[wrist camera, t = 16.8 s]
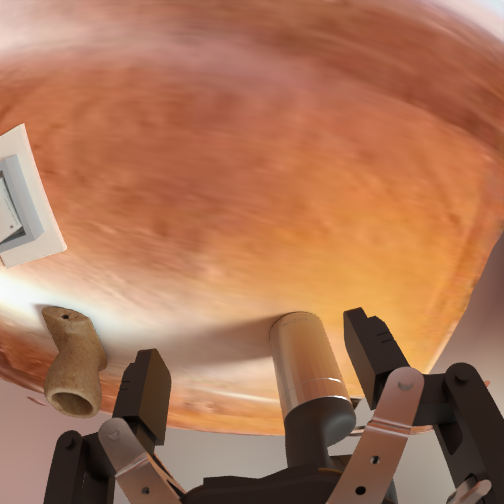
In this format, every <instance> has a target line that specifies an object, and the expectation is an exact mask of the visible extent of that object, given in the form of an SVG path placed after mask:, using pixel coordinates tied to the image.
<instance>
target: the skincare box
mask: <svg viewBox="0 0 504 504" xmlns="http://www.w3.org/2000/svg"><path fill="white" fill-rule="evenodd" d="M21 227H22V223H21V221H20V218H19V216H18V213H17V211H16V208H15V205H14V203H13V200H12V197H11V195H10V192H9V189H8V186H7V183H6V180H5V177H4V176H3V177H1V178H0V243H1V242H2V241H3V240H5V239H6V238H7V237H8V236H10V235H11V234H12V233H14V232H15V231H16V230H18V229H19V228H21Z"/></svg>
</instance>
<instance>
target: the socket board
mask: <svg viewBox="0 0 504 504" xmlns="http://www.w3.org/2000/svg"><path fill="white" fill-rule="evenodd" d="M3 176H4V177H5V180H6V183H7V186H8V189H9V192H10V195H11V197H12V200H13V203H14V205H15V208H16V211H17V213H18V216H19V218H20V221H21V223H22V227H21V228H19V229H18V230H16V231H15V232H14V233H12V234H11V235H10V236H8V237H7V238H6V239H5V240H3V241H2V242H1V243H0V256H1V258H2V260H3V262H4V264H5V266H6V268H10V267H14V266H17V265H20V264H23V263H26V262H29V261H33V260H36V259H39V258H42V257H46V256H49V255H52V254H56V253H59V252H62V251H65V250H66V249H67V246H66V244H65V242H64V239H63V237H62V235H61V232H60V230H59V227H58V225H57V223H56V220H55V218H54V215H53V212H52V210H51V207H50V205H49V202H48V199H47V197H46V194H45V191H44V188H43V185H42V182H41V180H40V177H39V174H38V170H37V167H36V164H35V161H34V158H33V155H32V151H31V148H30V144H29V141H28V137H27V134H26V130H25V126H24V124H20V125H18V126H16V127H15V128H13V129H11V130H10V131H8V132H6V133H5V134H3V135H2V136H0V178H1V177H3Z"/></svg>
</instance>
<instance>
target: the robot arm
mask: <svg viewBox="0 0 504 504" xmlns="http://www.w3.org/2000/svg"><path fill="white" fill-rule="evenodd" d="M343 318H344V340H345V346H346V349H347V352H348V355H349V357H350V359H351V362H352V364H353V367H354V369H355V372H356V374H357V377H358V379H359V382H360V384H361V387H362V389H363V392H364V394H365V397H366V399H367V402H368V405H369V407H370V410H374V409H376V410H375V412H374V415H373V417H372V419H371V421H369V422H368V423H367V425H366V427H365V429H364V432H363V434H362V436H361V438H360V441H359V442H358V445H357V447H356V449H355V451H354V453H353V454H352V455H339V456H329V455H328V450H327V447H329V446H331V445H333V444H336V443H337V442H339V441H341V440H343V439H344V438H345V437H347V436H348V435H349V434H350V433H351V432H352V431H353V429H354V427H355V425H356V415H355V412H354V409H353V406H352V403H351V400H350V398H349V395H348V392H347V389H346V387H345V384H344V381H343V378H342V375H341V373H340V370H339V367H338V364H337V362H336V359H335V356H334V353H333V351H332V348H331V345H330V343H329V340H328V337H327V335H326V332H325V329H324V327H323V324H322V322H321V320H320V319H319V318H318V317H317V316H315V315H313V314H311V313H306V312H296V313H291V314H288V315H286V316H284V317H282V318H281V319H279V320H278V321H277V322H276V323H275V324H274V325H273V327H272V328H271V331H270V336H269V338H270V344H271V350H272V356H273V362H274V368H275V374H276V380H277V386H278V392H279V398H280V404H281V409H282V415H283V421H284V427H285V447H286V457H287V465H288V468H286V469H284V470H281V471H279V472H276V473H274V474H271V475H269V476H266V477H263V478H259V479H256V478H246V477H236V476H221V477H209V478H204V480H203V481H204V482H203V485H200V486H198V487H196V488H194V489H192V490H190V491H188V492H186V491H185V490H184V489H183V488H182V487H181V486H180V485H179V483H178V482H177V481H176V480H175V479H174V477H173V476H172V475H171V474H170V472H169V471H168V470H167V469H166V467H165V466H164V465H163V463H162V462H161V461H160V459H159V458H158V457H157V455H156V454H155V453H154V448H155V446H157V445H164V440H165V431H166V422H167V414H168V406H169V398H170V391H171V376H170V373H169V370H168V369H167V367H166V365H165V363H164V361H163V360H162V358H161V356H160V354H159V352H158V351H157V349H155V348H154V349H147V350H140V351H138V353H137V357H136V360H135V363H130V365H129V366H128V367H127V369H126V370H125V371H124V374H123V378H122V381H121V382H122V383H121V385H120V388H119V389H120V391H119V392H118V396H117V400H116V404H115V407H114V411H113V415H112V418H111V419H109V420H107V421H105V422H104V423H103V424H102V425H101V427H100V429H99V431H98V432H96V433H93V434H89V435H86V436H81V435H80V434H79V433H78V432H77V431H74V430H70V431H67V432H65V433H64V434H62V435H61V436H60V437H59V439H58V440H57V443H56V447H55V451H54V455H53V459H52V464H51V468H50V473H49V477H48V482H47V487H46V492H45V497H44V503H43V504H113V500H114V489H115V479H116V480H117V482H118V484H119V485H120V487H121V489H122V490H123V492H124V494H125V495H126V497H127V498H128V500H129V502H130V503H131V504H398V500H397V495H396V489H395V485H394V481H393V475H394V473H395V471H396V469H397V466H398V464H399V461H400V458H401V456H402V453H403V451H404V448H405V445H406V442H407V440H408V437H409V434H410V430H411V427H412V426H425V425H432V426H433V428H434V431H435V433H436V436H437V438H438V441H439V444H440V446H441V449H442V451H443V454H444V457H445V460H446V462H447V465H448V468H449V471H450V474H451V476H452V479H453V482H454V485H455V488H456V490H455V491H454V492H453V493H452V494H451V495H450V496H449V498H448V500H447V502H446V504H504V419H503V417H502V415H501V413H500V411H499V409H498V407H497V406H496V404H495V402H494V400H493V398H492V396H491V395H490V393H489V392H488V389H487V387H486V386H485V384H484V382H483V380H482V379H481V377H480V375H479V374H478V372H477V370H476V369H475V368H474V367H473V366H471V365H470V364H467V363H456V364H453V365H451V366H450V367H449V368H448V369H447V371H446V373H443V374H431V375H427V374H421V372H419V371H418V370H417V369H415V368H412V367H410V365H409V364H408V362H407V360H406V358H405V357H404V355H403V353H402V351H401V350H400V348H399V346H398V344H397V343H396V341H395V340H394V337H393V336H392V334H391V333H390V331H389V329H388V327H387V326H386V324H385V322H383V321H382V320H381V319H379V318H378V317H376V316H373V317H369V318H367V316H366V314H365V312H364V311H363V309H362V308H361V307H359V308H355V309H351V310H348V311H344V313H343ZM84 474H85V475H84ZM83 480H84V481H83ZM82 487H83V488H82Z"/></svg>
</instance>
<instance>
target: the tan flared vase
mask: <svg viewBox="0 0 504 504" xmlns="http://www.w3.org/2000/svg"><path fill="white" fill-rule="evenodd" d="M42 314H43V317H44V320H45V322H46V324H47V327H48V329H49V331H50V333H51V335H52V338H53V340H54V342H55V344H56V346H57V348H58V350H59V354H58V355H57V357H56V358H55V360H54V361H53V363H52V364H51V366H50V368H49V370H48V373H47V375H46V379H45V383H44V394H45V397H46V399H47V401H48V402H49V403H50V404H51V405H52V406H53V407H54V408H55V409H56V410H58V411H59V412H61V413H62V414H65V415H68V416H71V417H75V418H90V417H93V416H95V415H96V414H97V413H98V411H99V410H100V406H101V399H102V391H101V385H100V380H99V375H98V371H101V370H104V369H105V368H106V367H107V359H106V355H105V352H104V350H103V347H102V345H101V343H100V340H99V338H98V336H97V334H96V331H95V329H94V327H93V324H92V322H91V320H90V319H89V318H88V317H86V316H84V315H83V314H81V313H78V312H76V311H73V310H70V309H64V308H55V307H48V308H43V309H42Z"/></svg>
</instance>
